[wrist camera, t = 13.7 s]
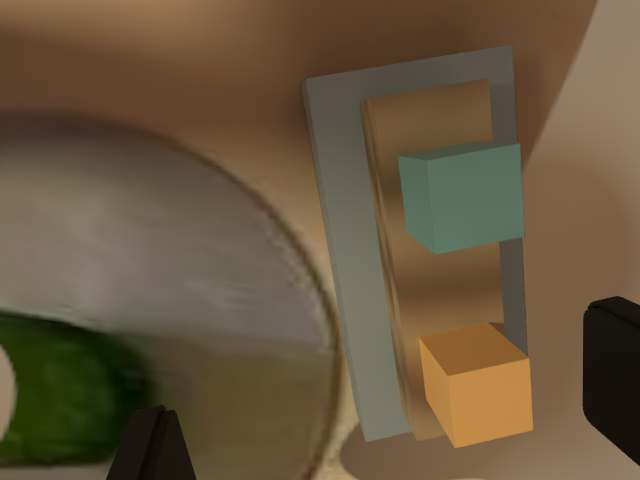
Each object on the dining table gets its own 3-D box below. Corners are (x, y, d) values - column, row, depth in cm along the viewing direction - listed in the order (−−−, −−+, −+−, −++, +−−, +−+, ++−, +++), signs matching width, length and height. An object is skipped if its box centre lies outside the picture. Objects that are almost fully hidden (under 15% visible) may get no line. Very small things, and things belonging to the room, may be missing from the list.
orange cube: (418, 336, 27) (447, 376, 22) (487, 322, 27) (529, 358, 23) (426, 399, 28) (455, 448, 24) (492, 384, 28) (533, 430, 24)
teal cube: (397, 155, 24) (426, 160, 20) (475, 141, 24) (520, 143, 20) (407, 233, 25) (436, 254, 21) (480, 218, 25) (524, 236, 21)
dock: (300, 85, 30) (305, 78, 26) (481, 55, 30) (512, 44, 27) (355, 409, 36) (366, 442, 32) (502, 376, 37) (530, 404, 33)
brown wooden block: (359, 102, 26) (372, 97, 23) (461, 84, 27) (488, 77, 24) (401, 408, 32) (417, 441, 29) (485, 390, 32) (510, 420, 29)
